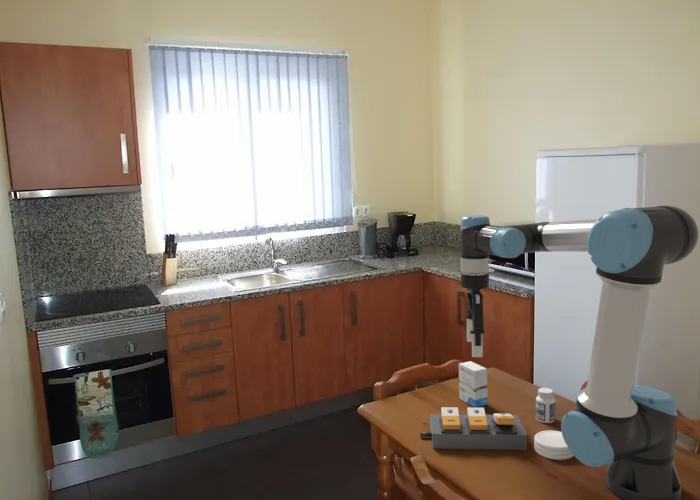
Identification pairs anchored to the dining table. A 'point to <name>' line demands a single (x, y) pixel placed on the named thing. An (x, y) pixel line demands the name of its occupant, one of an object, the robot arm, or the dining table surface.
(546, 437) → the coaster
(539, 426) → the dining table surface
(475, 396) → the ink box
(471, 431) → the rocker switch panel
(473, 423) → the rocker
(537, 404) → the pill bottle
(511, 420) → the block
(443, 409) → the rocker
